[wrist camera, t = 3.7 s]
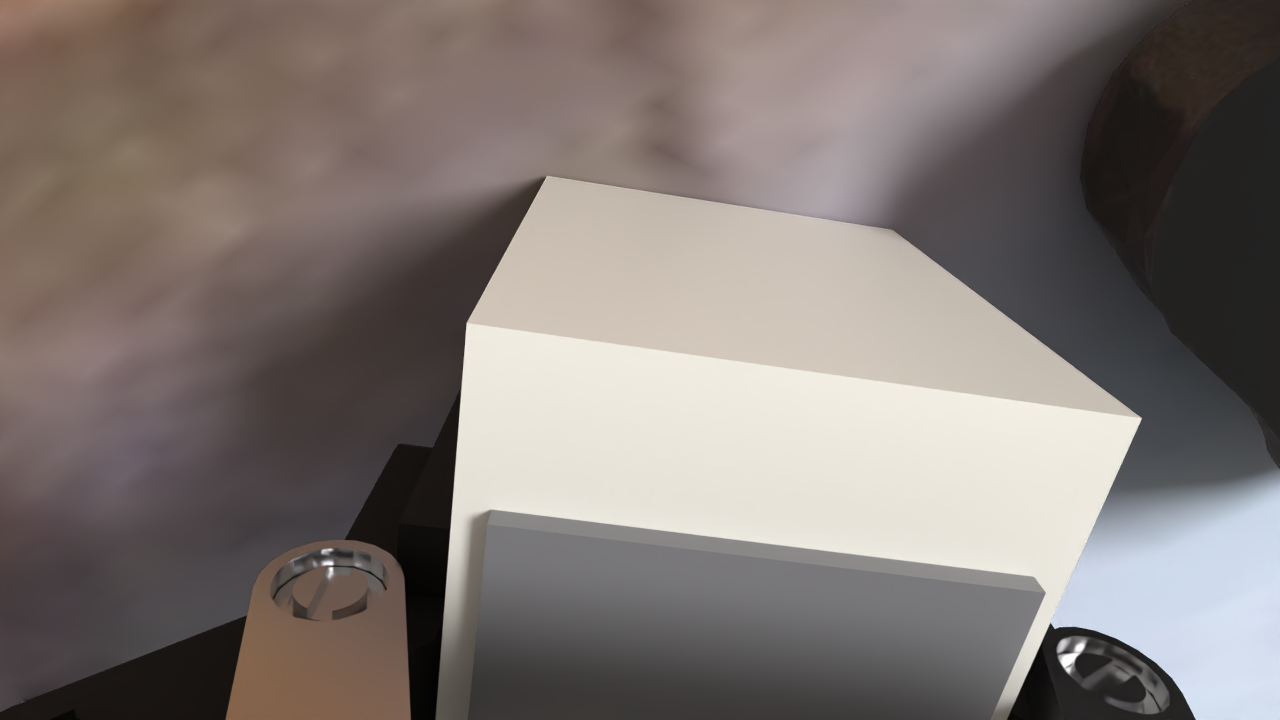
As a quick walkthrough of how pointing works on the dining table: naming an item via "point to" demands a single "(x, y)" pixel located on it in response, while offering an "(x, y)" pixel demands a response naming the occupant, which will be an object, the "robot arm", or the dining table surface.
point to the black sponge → (1200, 187)
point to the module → (754, 474)
